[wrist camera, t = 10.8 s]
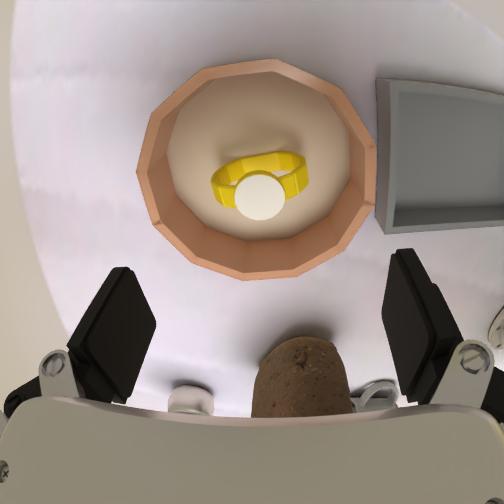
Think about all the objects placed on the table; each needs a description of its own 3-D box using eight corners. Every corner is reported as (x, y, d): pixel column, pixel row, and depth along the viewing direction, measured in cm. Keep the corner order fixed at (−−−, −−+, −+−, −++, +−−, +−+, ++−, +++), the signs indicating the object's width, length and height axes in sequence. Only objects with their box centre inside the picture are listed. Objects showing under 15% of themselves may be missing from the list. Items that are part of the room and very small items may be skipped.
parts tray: (523, 100, 16) (542, 107, 13) (507, 210, 22) (522, 224, 20) (375, 78, 17) (389, 81, 15) (375, 216, 24) (384, 234, 22)
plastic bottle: (178, 374, 39) (150, 510, 23) (223, 389, 41) (207, 522, 24) (167, 391, 42) (141, 510, 26) (207, 404, 44) (190, 521, 28)
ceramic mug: (377, 410, 44) (383, 449, 38) (334, 411, 44) (338, 452, 38) (407, 377, 38) (419, 421, 32) (360, 377, 38) (369, 425, 32)
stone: (296, 313, 31) (302, 517, 14) (349, 332, 32) (375, 511, 16) (247, 369, 37) (234, 522, 21) (295, 382, 39) (296, 525, 22)
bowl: (351, 56, 17) (372, 56, 13) (354, 234, 25) (368, 270, 21) (144, 83, 19) (114, 91, 15) (187, 248, 27) (173, 285, 23)
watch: (297, 136, 20) (314, 162, 15) (303, 173, 22) (321, 209, 17) (212, 154, 21) (201, 186, 16) (222, 189, 22) (215, 230, 17)
